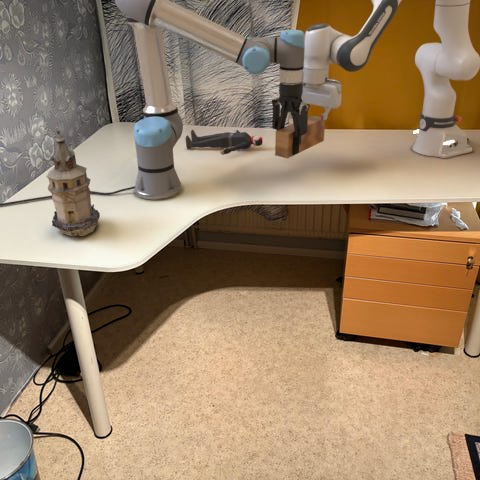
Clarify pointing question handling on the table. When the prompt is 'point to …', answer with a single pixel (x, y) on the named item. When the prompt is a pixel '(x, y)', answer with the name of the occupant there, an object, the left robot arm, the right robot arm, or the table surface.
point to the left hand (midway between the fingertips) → (288, 151)
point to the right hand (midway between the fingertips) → (312, 116)
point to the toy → (224, 141)
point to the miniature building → (70, 193)
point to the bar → (307, 140)
